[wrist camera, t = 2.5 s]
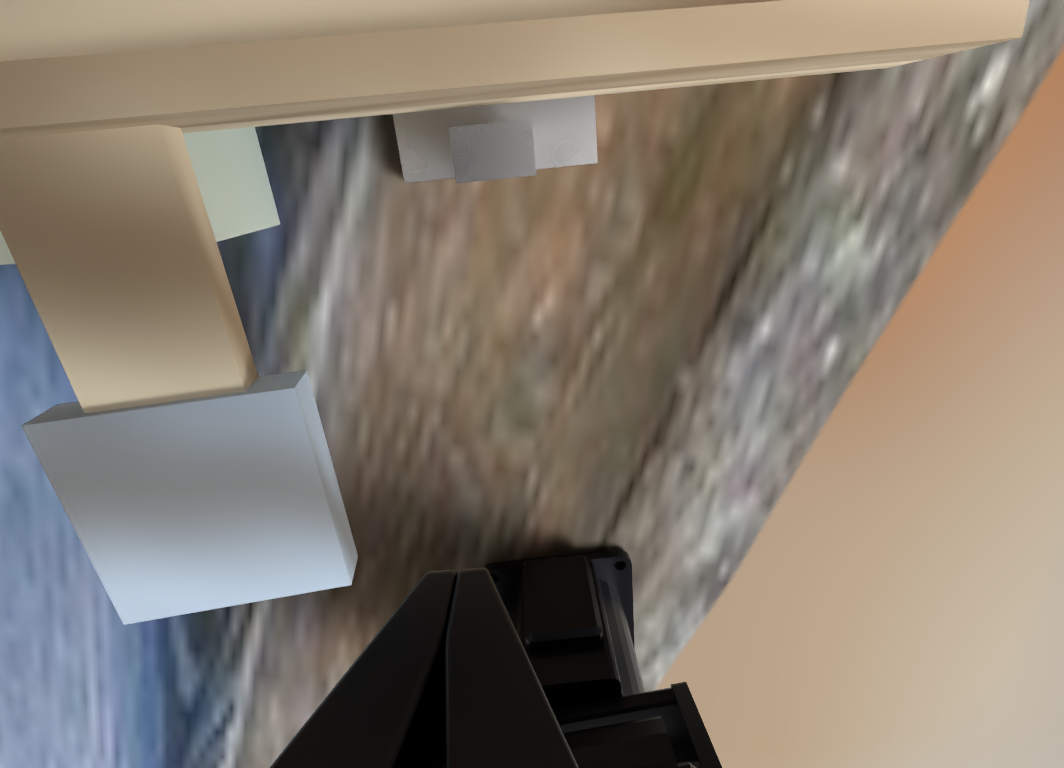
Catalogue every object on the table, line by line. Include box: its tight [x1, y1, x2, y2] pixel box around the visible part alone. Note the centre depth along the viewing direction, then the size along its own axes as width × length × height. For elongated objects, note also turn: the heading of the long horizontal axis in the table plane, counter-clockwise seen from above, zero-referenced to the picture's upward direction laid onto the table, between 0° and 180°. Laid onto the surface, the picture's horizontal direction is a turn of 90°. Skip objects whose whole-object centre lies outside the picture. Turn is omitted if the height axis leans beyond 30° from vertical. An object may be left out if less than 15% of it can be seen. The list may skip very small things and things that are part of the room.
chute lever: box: [0, 0, 1030, 625], centre depth 11 cm, size 17×19×6 cm
